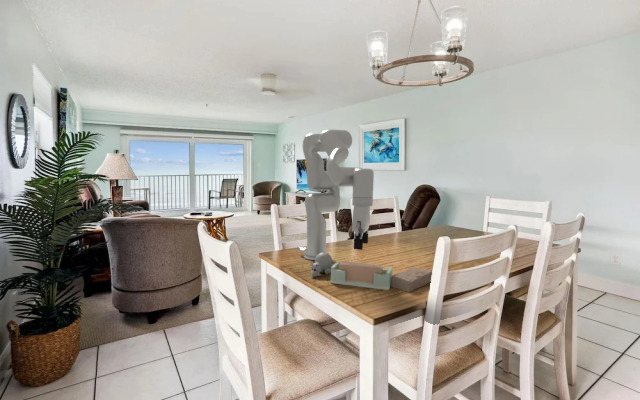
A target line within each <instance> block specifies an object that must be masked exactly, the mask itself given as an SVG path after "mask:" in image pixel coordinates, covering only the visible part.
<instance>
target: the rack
mask: <svg viewBox="0 0 640 400" xmlns="http://www.w3.org/2000/svg"><path fill="white" fill-rule="evenodd" d="M340 263H341V262H340V261H336V262H335V263H333V264H334V265H333V266H332V267H331V272H330V284H338V285H345V286H353V287H360V288H369V289H377V290H385V291H390V289H391V278H392V276H393V267H392V266H388V268H383V274H374V283H367V282H358V281H349V280H346V270H339V264H340Z"/></svg>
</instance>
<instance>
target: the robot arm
mask: <svg viewBox="0 0 640 400" xmlns="http://www.w3.org/2000/svg"><path fill="white" fill-rule="evenodd" d="M352 145H353V137H352V135H351V133H350V132H349V131H348V130H345V129H344V130H343V129H334V128H333V129H330V128H329V129H325V130H323V131H322V132H321V133H308V134H306V135H304V138H303V141H302V152H303V155H304V159H305V165H306V167H305V168H306V183H307V188H308V189H309V190H311V191H327V192H316V193H315V192H313V193H310V194H307V195H306V197H305V198H304V199H305V200H304V205H305V206H304V207H305V212H306V247H303V246H302V247H299V253H304V254H303V258H304V259H307V260H311V261H315V258H316V256H317V255H318V254H319V253H322V252H325V253H327V220H326V218H325V217H324V215H323V214H322V213H335V212H337V211H339V209H340V206H341V195H340V194H341V192H340V190H341V189H340V187H341V188H343V187H345V188H346V187H348V188H349V187H352V204H351V206H353V212H352V220H351V221H352V222H351V232H352V233H354V234H353V235H354V237H353V249H354V250H360V251H362V250H363V247H364V246H363V245H364V244H366V245H367V244H368V243H369V228H370V219H371V218H370V217H371V215H370V214H371V207H372V206H373V204H374V203H373V202H374V201H373V200H374V177H375V176H374V174H375V173H374V170H373V169H371V168H363V167H354V166H353V167H352V166H351V167H349V166H348V167H347V166H339V164H342V163H344V162H345V160H346V159H348V156H349V154H350V153H349V152H350V151H349V149H350V148H351V146H352ZM318 152H319V153H320V152H321V153H326V154H327V156H328V158H327V160H326V166H325V167H324V165H325V164H324V160H323V158H322V157H321V155H320V154H319V153H318ZM325 168H326V170H325Z"/></svg>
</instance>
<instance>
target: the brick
mask: <svg viewBox="0 0 640 400" xmlns="http://www.w3.org/2000/svg"><path fill="white" fill-rule="evenodd" d="M431 275H432V276H433V272H432V270H430V269H425V268H420V267H415V266H413V267H410V268H408V269H406V270H404V271H401V272H396V273H395V274H392V278H391V286H390V288H391V287H392V288H395V289H397V290H401V291H403V292H409V293H410V292H412V291H414V290H417V289H418V288H421V287H423V286H425V285H427V283H428V284H429V283H431V282H430V280H431ZM431 281H432V280H431Z"/></svg>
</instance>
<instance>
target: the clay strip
mask: <svg viewBox="0 0 640 400" xmlns="http://www.w3.org/2000/svg"><path fill="white" fill-rule="evenodd" d="M383 267H384V266H383V264H376V263H375V264H374V263H364V262H363V263H362V262H353V261H341V262H340V264H339V270H346V280H349V281H358V282H367V283H374V274H383V269H384V268H383Z"/></svg>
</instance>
